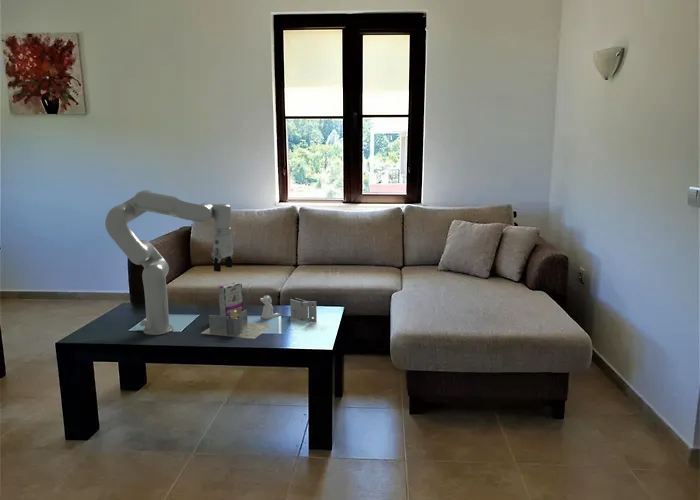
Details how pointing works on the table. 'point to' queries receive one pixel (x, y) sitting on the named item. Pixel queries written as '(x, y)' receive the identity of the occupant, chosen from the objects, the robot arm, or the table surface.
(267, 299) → the seated beast figurine
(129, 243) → the robot arm
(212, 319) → the grey walled base plate
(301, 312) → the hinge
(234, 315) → the pin
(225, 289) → the candy bar box
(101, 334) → the table surface
